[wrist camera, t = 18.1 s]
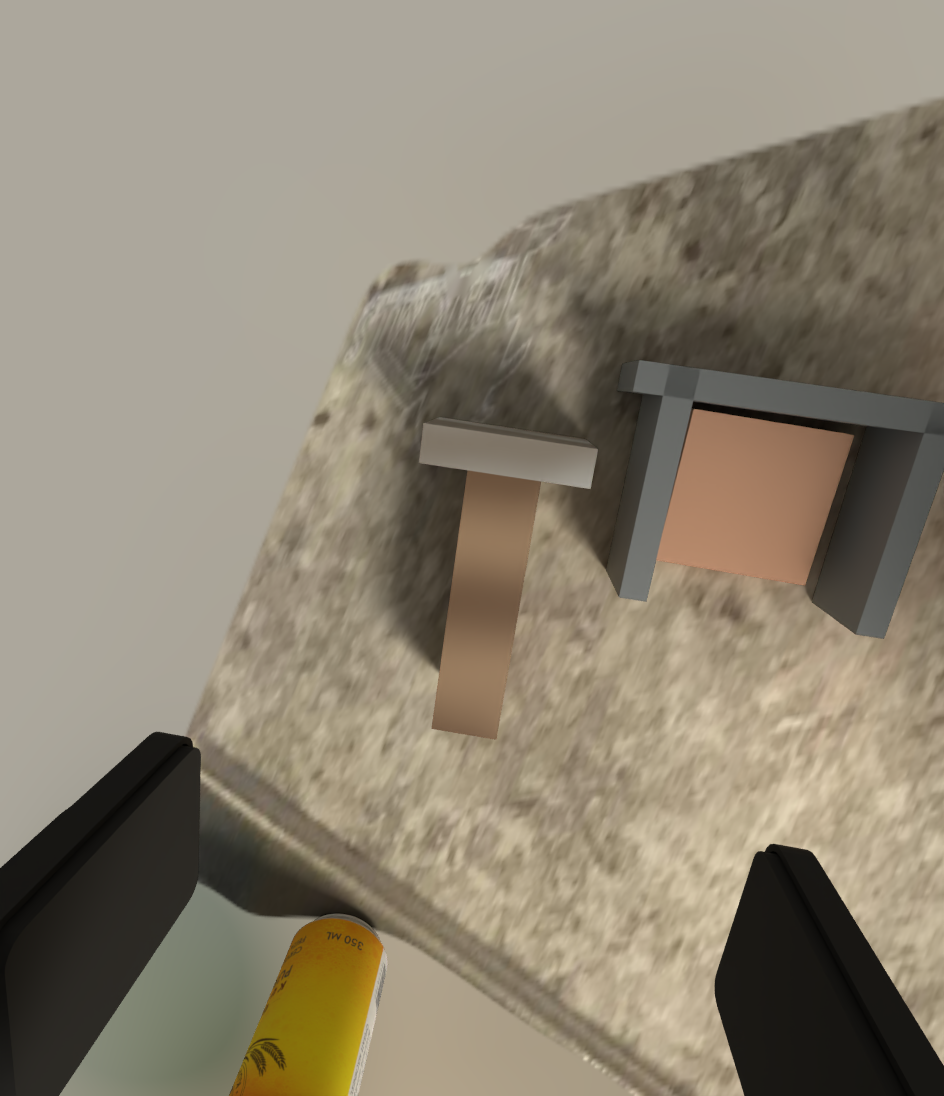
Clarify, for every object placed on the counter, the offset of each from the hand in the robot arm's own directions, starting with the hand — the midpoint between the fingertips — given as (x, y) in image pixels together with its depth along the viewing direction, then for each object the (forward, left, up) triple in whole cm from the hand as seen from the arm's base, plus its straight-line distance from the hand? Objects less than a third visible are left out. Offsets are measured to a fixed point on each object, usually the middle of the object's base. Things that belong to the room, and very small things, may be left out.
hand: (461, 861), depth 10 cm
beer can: (+6, +27, -21) cm, 35 cm away
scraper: (0, +2, -21) cm, 21 cm away
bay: (-11, -5, -21) cm, 24 cm away
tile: (-11, -4, -21) cm, 24 cm away
